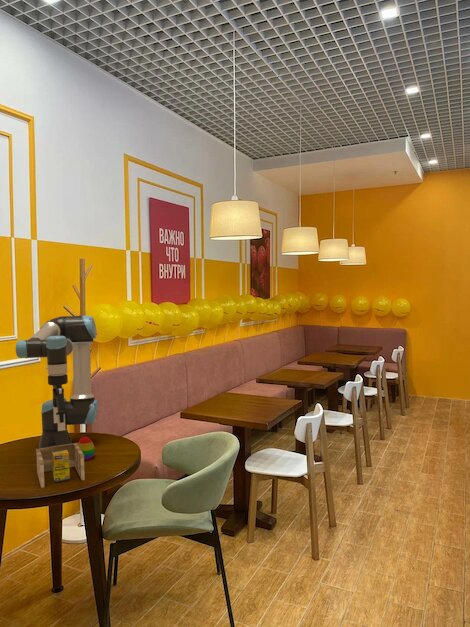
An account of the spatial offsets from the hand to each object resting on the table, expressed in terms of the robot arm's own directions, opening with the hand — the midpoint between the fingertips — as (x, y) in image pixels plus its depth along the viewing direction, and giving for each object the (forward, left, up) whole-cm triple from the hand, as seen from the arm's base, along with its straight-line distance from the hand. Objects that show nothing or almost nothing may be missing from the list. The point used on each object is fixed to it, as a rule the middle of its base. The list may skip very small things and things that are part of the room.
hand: (59, 426), depth 195 cm
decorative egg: (-14, +21, -22) cm, 33 cm away
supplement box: (0, 0, -22) cm, 22 cm away
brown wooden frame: (-4, +2, -22) cm, 22 cm away
